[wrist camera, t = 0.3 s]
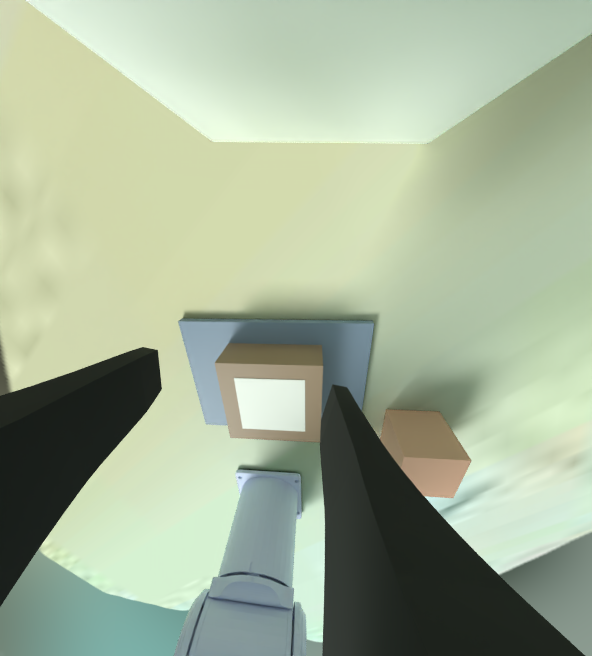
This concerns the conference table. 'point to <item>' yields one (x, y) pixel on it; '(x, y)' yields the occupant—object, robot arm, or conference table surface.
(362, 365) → the plate
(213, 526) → the conference table surface
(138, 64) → the gable box
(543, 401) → the conference table surface
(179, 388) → the conference table surface
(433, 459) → the terracotta cube
